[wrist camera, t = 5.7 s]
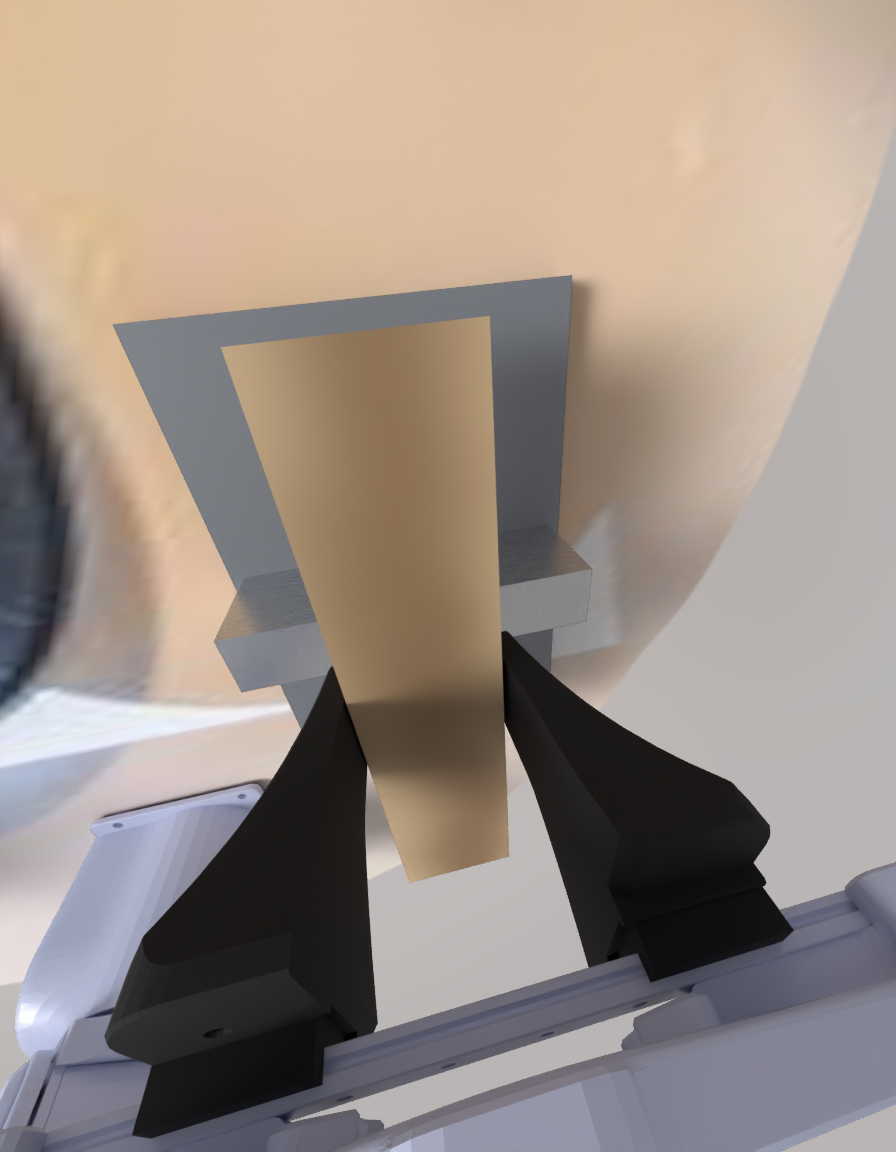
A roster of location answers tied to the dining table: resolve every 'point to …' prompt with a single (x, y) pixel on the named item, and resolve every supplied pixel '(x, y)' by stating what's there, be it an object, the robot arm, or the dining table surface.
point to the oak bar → (398, 560)
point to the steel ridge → (295, 643)
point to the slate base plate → (202, 379)
